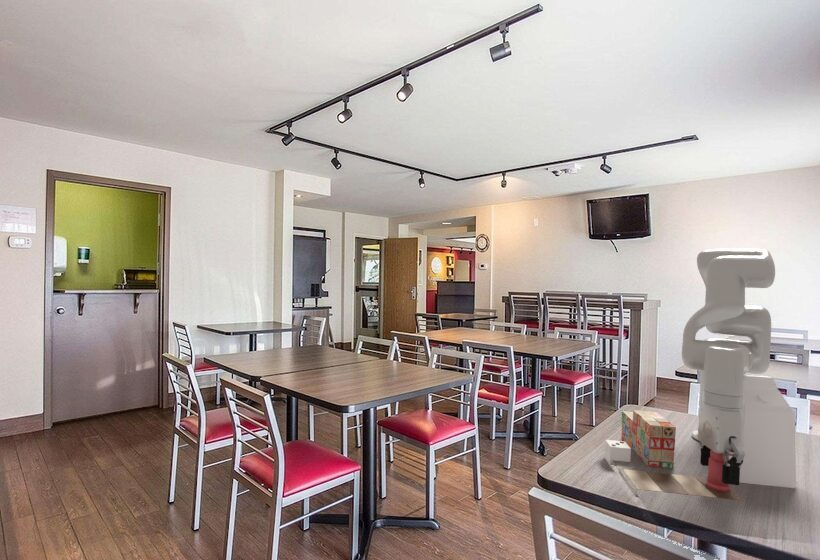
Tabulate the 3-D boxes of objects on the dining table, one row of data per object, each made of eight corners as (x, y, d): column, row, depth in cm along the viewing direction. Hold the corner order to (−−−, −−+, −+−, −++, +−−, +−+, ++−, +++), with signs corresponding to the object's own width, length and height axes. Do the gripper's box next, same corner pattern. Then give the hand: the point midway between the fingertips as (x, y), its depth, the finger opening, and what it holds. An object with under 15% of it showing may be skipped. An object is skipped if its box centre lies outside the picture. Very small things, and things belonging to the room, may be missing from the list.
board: (719, 483, 108) (719, 477, 108) (748, 508, 96) (749, 502, 96) (619, 473, 111) (619, 467, 111) (635, 496, 99) (635, 490, 99)
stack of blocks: (620, 441, 134) (622, 400, 134) (642, 443, 133) (644, 402, 133) (647, 472, 113) (649, 424, 113) (674, 474, 112) (676, 426, 112)
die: (624, 459, 120) (624, 441, 120) (630, 467, 115) (630, 448, 115) (604, 457, 121) (605, 439, 121) (609, 465, 116) (610, 446, 116)
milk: (765, 472, 115) (770, 372, 114) (796, 494, 103) (801, 383, 103) (714, 467, 117) (719, 369, 116) (739, 488, 105) (744, 379, 105)
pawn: (723, 484, 104) (725, 444, 104) (733, 493, 100) (735, 451, 99) (702, 482, 105) (704, 442, 105) (712, 491, 100) (714, 450, 100)
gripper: (687, 389, 111) (684, 457, 111) (724, 409, 94) (720, 489, 94) (719, 392, 110) (716, 461, 110) (763, 412, 93) (760, 494, 93)
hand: (718, 474), depth 102 cm, fingers open, 9 cm apart
